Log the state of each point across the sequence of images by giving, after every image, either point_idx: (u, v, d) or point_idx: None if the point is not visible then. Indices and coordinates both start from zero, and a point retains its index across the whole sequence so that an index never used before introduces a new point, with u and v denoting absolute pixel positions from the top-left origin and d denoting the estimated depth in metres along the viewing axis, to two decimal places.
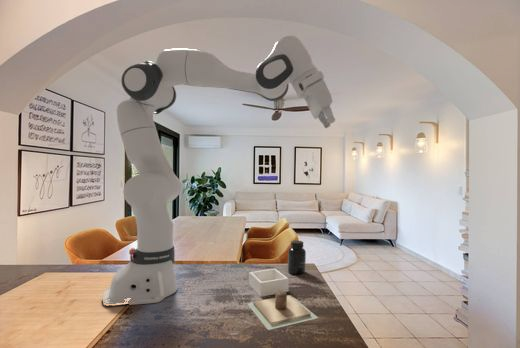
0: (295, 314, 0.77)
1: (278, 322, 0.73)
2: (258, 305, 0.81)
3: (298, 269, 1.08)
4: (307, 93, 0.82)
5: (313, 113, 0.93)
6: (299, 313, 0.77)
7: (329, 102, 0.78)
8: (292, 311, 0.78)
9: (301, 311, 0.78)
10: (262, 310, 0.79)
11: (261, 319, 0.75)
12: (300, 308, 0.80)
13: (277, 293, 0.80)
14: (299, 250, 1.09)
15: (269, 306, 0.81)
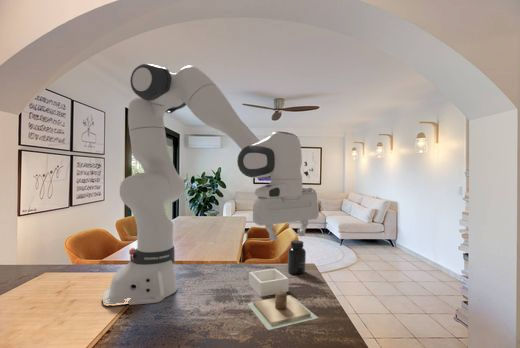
0: (295, 314, 0.77)
1: (278, 322, 0.73)
2: (258, 305, 0.81)
3: (298, 269, 1.08)
4: None
5: None
6: (299, 313, 0.77)
7: (258, 224, 0.75)
8: (292, 311, 0.78)
9: (301, 311, 0.78)
10: (262, 310, 0.79)
11: (261, 319, 0.75)
12: (300, 308, 0.80)
13: (277, 293, 0.80)
14: (299, 250, 1.09)
15: (269, 306, 0.81)
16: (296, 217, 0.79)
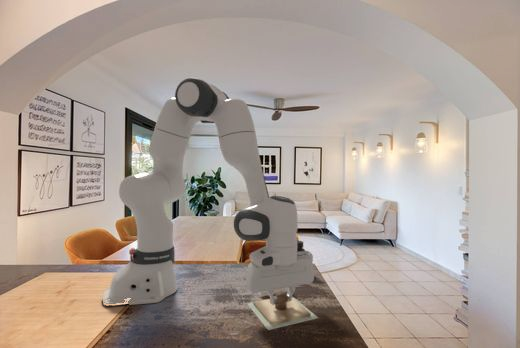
0: (295, 314, 0.77)
1: (278, 322, 0.73)
2: (258, 305, 0.81)
3: None
4: None
5: None
6: (299, 313, 0.77)
7: (250, 291, 0.76)
8: (292, 311, 0.78)
9: (301, 311, 0.78)
10: (262, 310, 0.79)
11: (261, 319, 0.75)
12: (300, 308, 0.80)
13: (277, 293, 0.80)
14: (299, 250, 1.09)
15: (269, 306, 0.81)
16: (289, 283, 0.79)
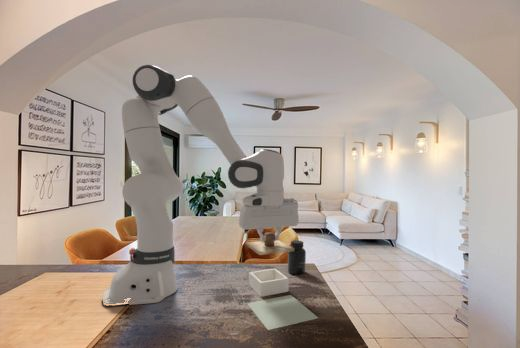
0: (281, 249, 0.89)
1: (266, 253, 0.86)
2: (250, 244, 0.94)
3: (298, 269, 1.08)
4: None
5: None
6: (284, 248, 0.90)
7: None
8: (279, 247, 0.91)
9: (286, 247, 0.91)
10: (253, 246, 0.91)
11: (261, 319, 0.75)
12: (286, 246, 0.93)
13: (266, 233, 0.93)
14: (299, 250, 1.09)
15: (259, 244, 0.94)
16: (277, 223, 0.92)
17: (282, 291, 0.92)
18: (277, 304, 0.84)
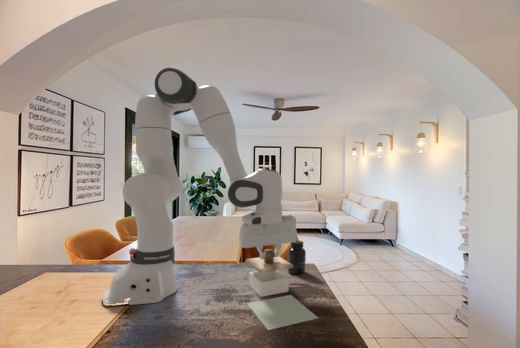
0: (280, 266, 0.91)
1: (266, 270, 0.88)
2: (250, 261, 0.96)
3: (298, 269, 1.08)
4: None
5: None
6: (284, 265, 0.92)
7: (242, 246, 0.91)
8: (278, 264, 0.93)
9: (286, 264, 0.93)
10: (253, 263, 0.93)
11: (261, 319, 0.75)
12: (285, 262, 0.95)
13: (266, 250, 0.95)
14: (299, 250, 1.09)
15: (259, 261, 0.96)
16: (276, 241, 0.94)
17: (282, 291, 0.92)
18: (277, 304, 0.84)
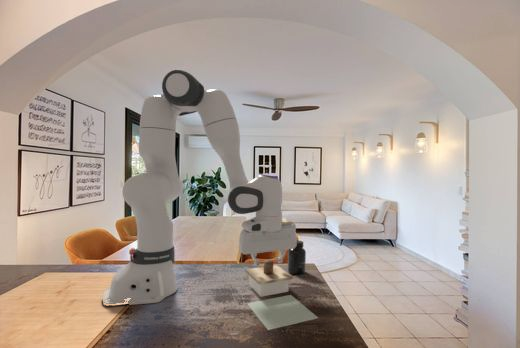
0: (280, 277, 0.91)
1: (265, 282, 0.88)
2: (249, 271, 0.96)
3: (298, 269, 1.08)
4: None
5: None
6: (283, 276, 0.92)
7: (242, 253, 0.91)
8: (278, 275, 0.93)
9: (285, 275, 0.93)
10: (252, 274, 0.93)
11: (261, 319, 0.75)
12: (285, 273, 0.95)
13: (265, 261, 0.95)
14: (299, 250, 1.09)
15: (259, 272, 0.96)
16: (275, 247, 0.94)
17: (282, 291, 0.92)
18: (277, 304, 0.84)
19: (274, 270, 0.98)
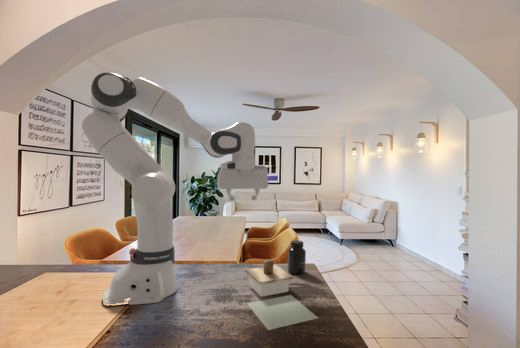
0: (280, 277, 0.92)
1: (265, 282, 0.88)
2: (249, 271, 0.96)
3: (298, 269, 1.08)
4: None
5: None
6: (283, 276, 0.92)
7: (219, 188, 1.06)
8: (278, 275, 0.93)
9: (285, 275, 0.93)
10: (252, 274, 0.93)
11: (261, 319, 0.75)
12: (285, 273, 0.95)
13: (265, 261, 0.95)
14: (299, 250, 1.09)
15: (259, 272, 0.96)
16: (249, 185, 1.10)
17: (282, 291, 0.92)
18: (277, 304, 0.84)
19: (274, 270, 0.98)
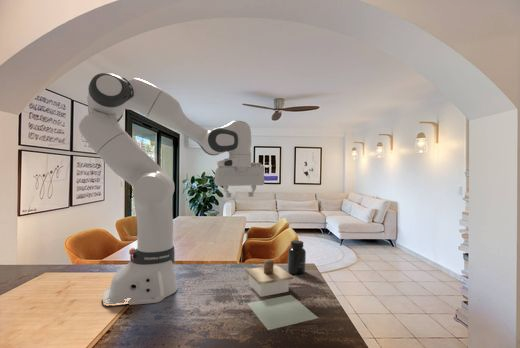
0: (280, 277, 0.92)
1: (265, 282, 0.88)
2: (249, 271, 0.96)
3: (298, 269, 1.08)
4: None
5: None
6: (283, 276, 0.92)
7: (216, 185, 1.08)
8: (278, 275, 0.93)
9: (285, 275, 0.93)
10: (252, 274, 0.94)
11: (261, 319, 0.75)
12: (285, 273, 0.95)
13: (265, 261, 0.95)
14: (299, 250, 1.09)
15: (259, 272, 0.96)
16: (245, 182, 1.12)
17: (282, 291, 0.92)
18: (277, 304, 0.84)
19: (274, 270, 0.98)
